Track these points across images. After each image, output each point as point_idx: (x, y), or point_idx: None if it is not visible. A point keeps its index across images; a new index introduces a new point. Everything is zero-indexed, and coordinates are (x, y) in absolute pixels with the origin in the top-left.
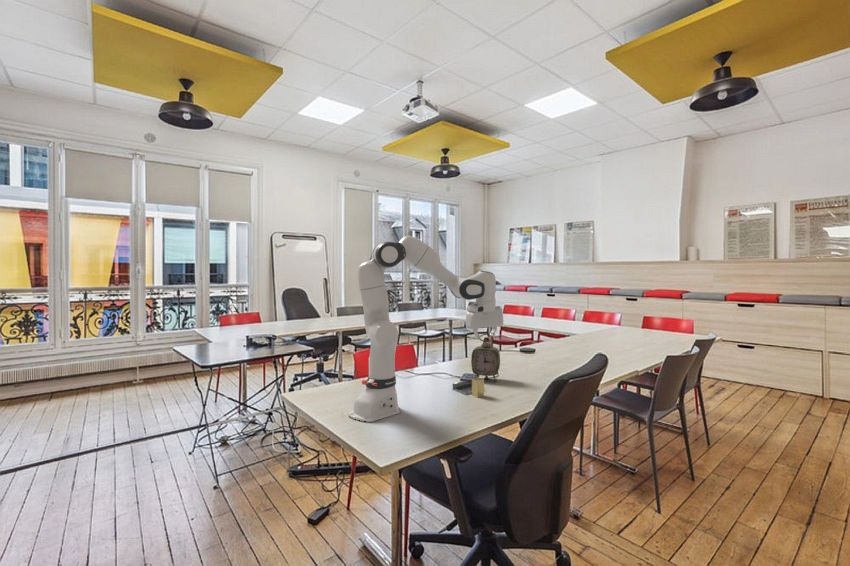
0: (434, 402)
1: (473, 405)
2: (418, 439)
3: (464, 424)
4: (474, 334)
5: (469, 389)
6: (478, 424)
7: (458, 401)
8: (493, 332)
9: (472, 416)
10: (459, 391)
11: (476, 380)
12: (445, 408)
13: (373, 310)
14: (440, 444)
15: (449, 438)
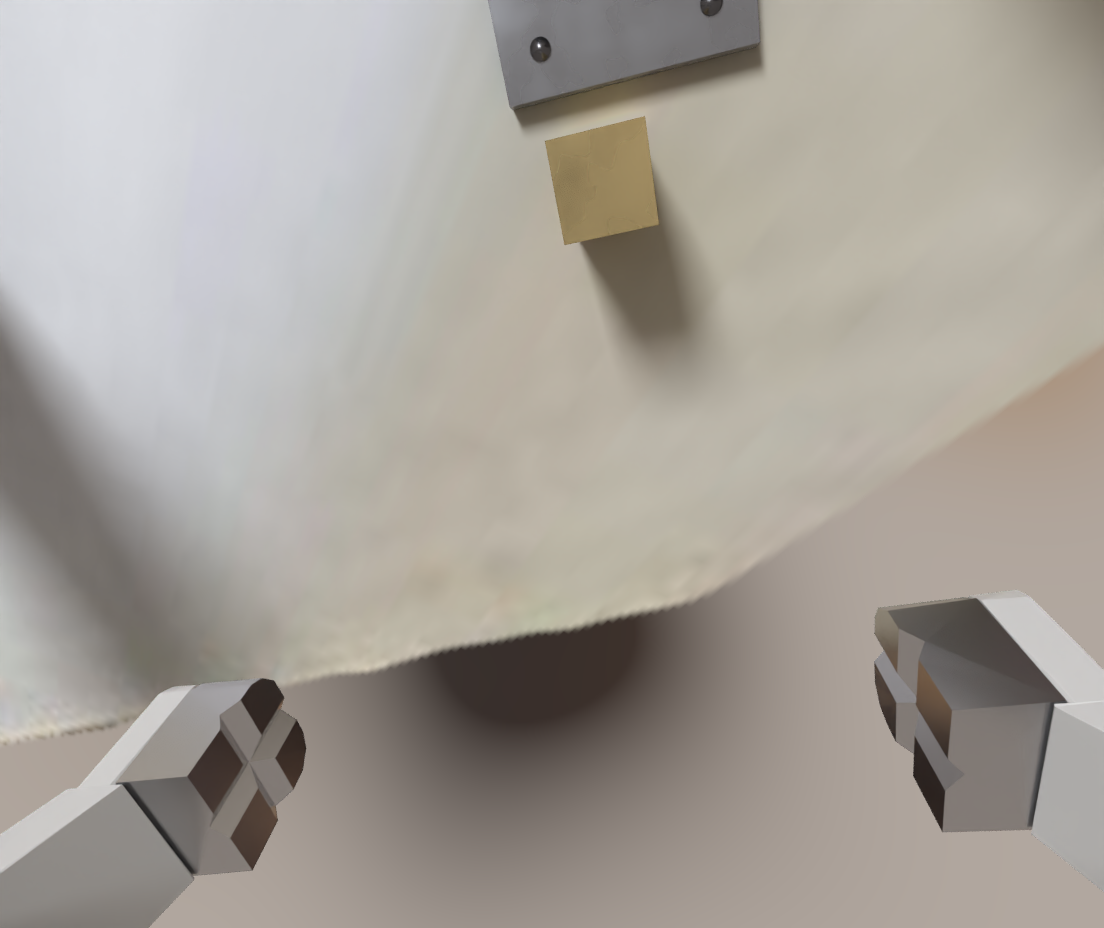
0: (206, 198)
1: (463, 384)
2: (68, 648)
3: (301, 606)
4: (97, 773)
5: (599, 8)
6: (368, 632)
7: (392, 256)
8: (1036, 810)
9: (379, 539)
10: (489, 3)
11: (562, 227)
12: (259, 357)
13: None
14: None
15: None
